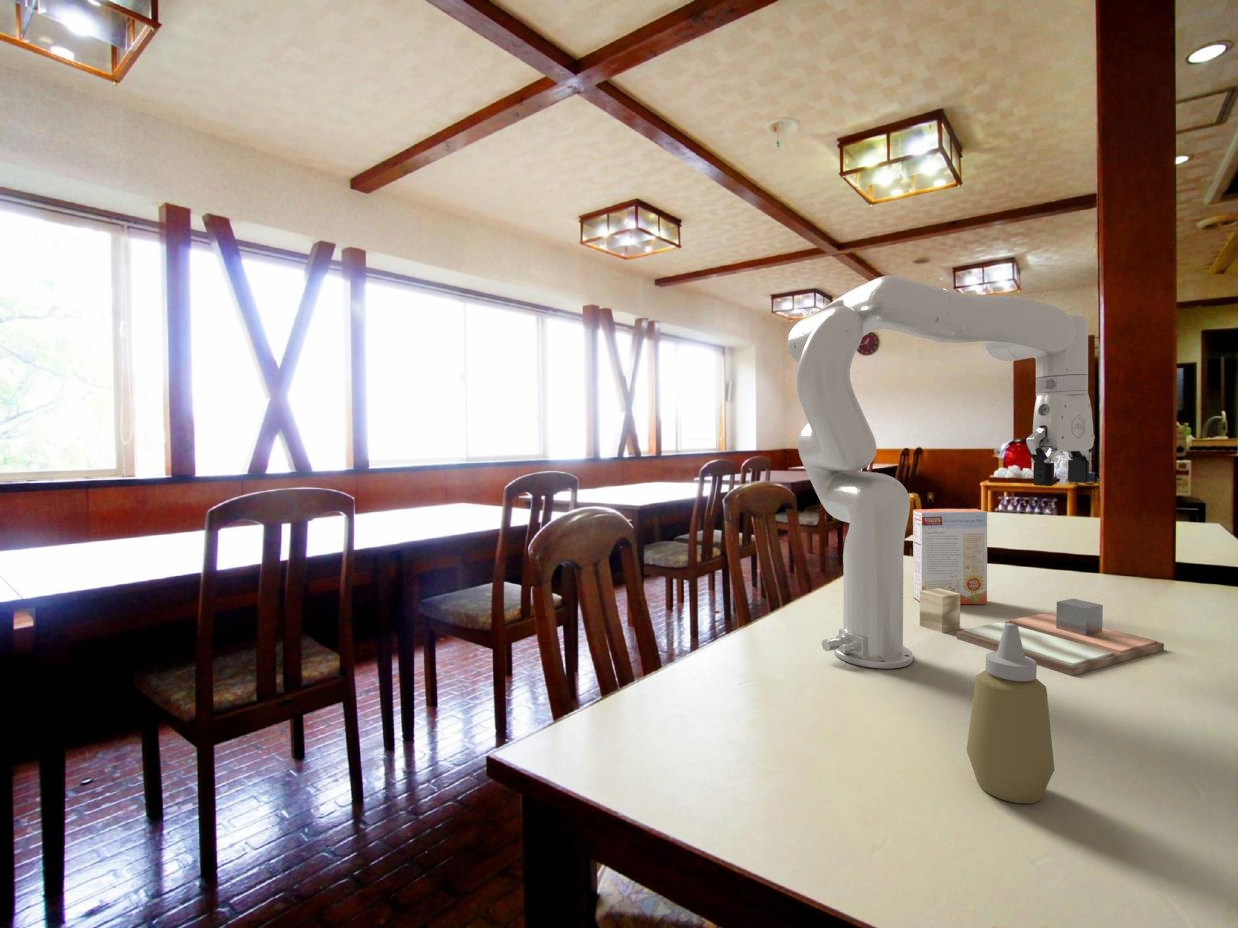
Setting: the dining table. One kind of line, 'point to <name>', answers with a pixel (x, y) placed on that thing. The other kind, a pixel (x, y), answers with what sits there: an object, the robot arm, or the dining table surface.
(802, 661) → the dining table surface
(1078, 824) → the dining table surface
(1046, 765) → the squeeze bottle
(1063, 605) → the metal block
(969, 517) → the cracker box
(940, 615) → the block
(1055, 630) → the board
